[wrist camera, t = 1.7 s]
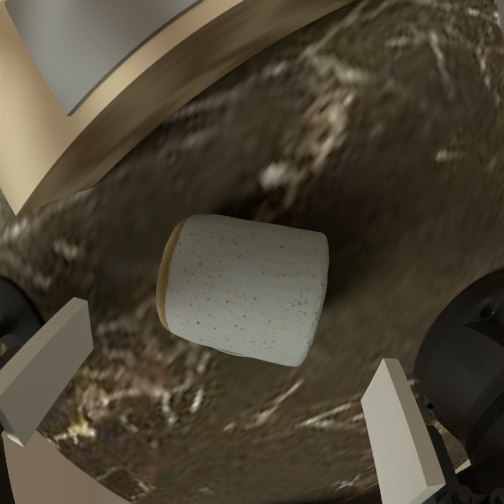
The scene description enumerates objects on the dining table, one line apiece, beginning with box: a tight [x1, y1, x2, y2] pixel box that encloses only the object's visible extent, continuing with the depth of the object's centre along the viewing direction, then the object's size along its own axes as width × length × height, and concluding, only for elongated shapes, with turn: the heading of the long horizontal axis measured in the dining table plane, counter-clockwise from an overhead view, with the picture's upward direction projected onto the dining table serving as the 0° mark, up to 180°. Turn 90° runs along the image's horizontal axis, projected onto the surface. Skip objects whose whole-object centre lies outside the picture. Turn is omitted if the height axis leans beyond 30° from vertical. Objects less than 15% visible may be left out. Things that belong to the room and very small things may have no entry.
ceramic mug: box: [156, 214, 329, 367], centre depth 18 cm, size 11×8×8 cm
